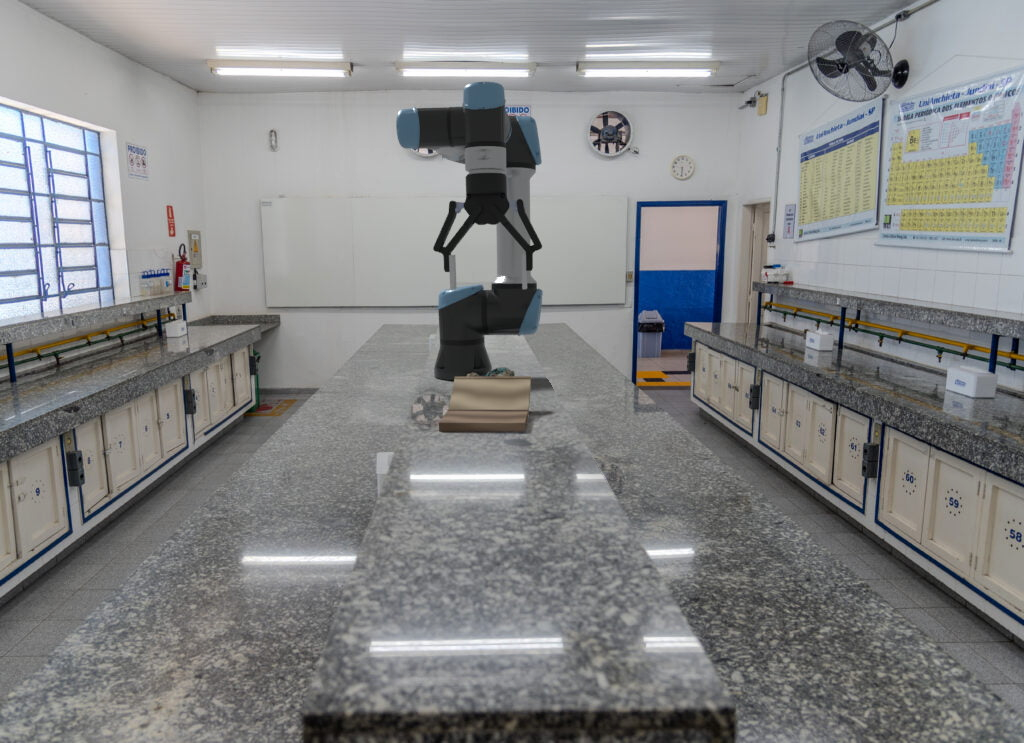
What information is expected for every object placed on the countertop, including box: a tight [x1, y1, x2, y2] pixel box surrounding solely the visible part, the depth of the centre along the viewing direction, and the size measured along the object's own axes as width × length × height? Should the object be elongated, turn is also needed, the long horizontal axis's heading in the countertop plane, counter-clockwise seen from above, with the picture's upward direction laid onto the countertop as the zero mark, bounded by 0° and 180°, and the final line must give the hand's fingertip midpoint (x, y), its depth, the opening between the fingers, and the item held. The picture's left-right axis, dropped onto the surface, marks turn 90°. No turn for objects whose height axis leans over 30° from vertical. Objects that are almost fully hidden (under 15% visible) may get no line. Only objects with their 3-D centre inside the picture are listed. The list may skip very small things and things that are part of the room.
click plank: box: [448, 375, 532, 416], centre depth 144 cm, size 10×16×2 cm
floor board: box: [438, 409, 529, 432], centre depth 134 cm, size 10×16×2 cm, turn 85°
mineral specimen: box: [466, 366, 516, 377], centre depth 159 cm, size 12×9×8 cm
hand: (488, 289), depth 133 cm, fingers open, 13 cm apart
